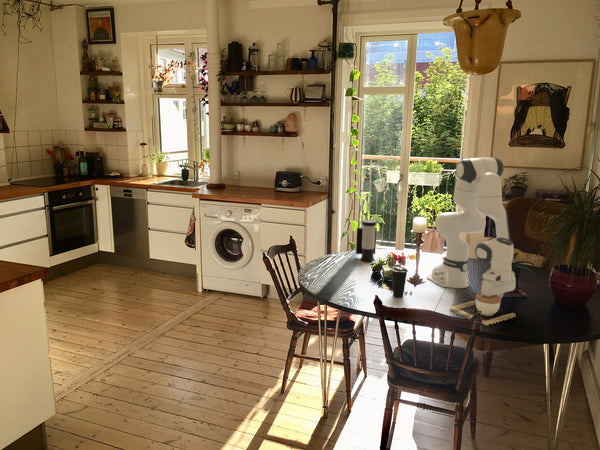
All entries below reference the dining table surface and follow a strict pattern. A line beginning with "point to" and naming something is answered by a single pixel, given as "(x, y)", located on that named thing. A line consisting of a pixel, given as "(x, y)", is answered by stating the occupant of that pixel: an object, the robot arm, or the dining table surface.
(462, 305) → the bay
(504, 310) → the dining table surface
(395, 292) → the drinking cup
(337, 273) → the dining table surface
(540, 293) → the dining table surface
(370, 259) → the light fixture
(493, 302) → the lidded jar
